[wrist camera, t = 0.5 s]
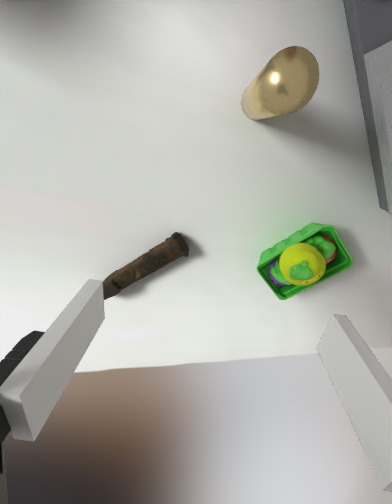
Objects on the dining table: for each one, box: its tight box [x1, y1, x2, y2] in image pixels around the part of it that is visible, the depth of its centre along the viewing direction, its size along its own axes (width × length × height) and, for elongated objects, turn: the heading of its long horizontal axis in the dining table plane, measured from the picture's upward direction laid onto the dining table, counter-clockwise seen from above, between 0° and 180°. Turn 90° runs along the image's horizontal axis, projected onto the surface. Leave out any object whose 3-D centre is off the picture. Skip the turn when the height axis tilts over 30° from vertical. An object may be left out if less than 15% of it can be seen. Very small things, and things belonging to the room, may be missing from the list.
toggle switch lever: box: [241, 46, 319, 120], centre depth 24 cm, size 4×4×14 cm
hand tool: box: [103, 232, 189, 300], centre depth 40 cm, size 19×4×5 cm, turn 121°
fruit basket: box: [257, 223, 353, 300], centre depth 33 cm, size 11×9×11 cm
